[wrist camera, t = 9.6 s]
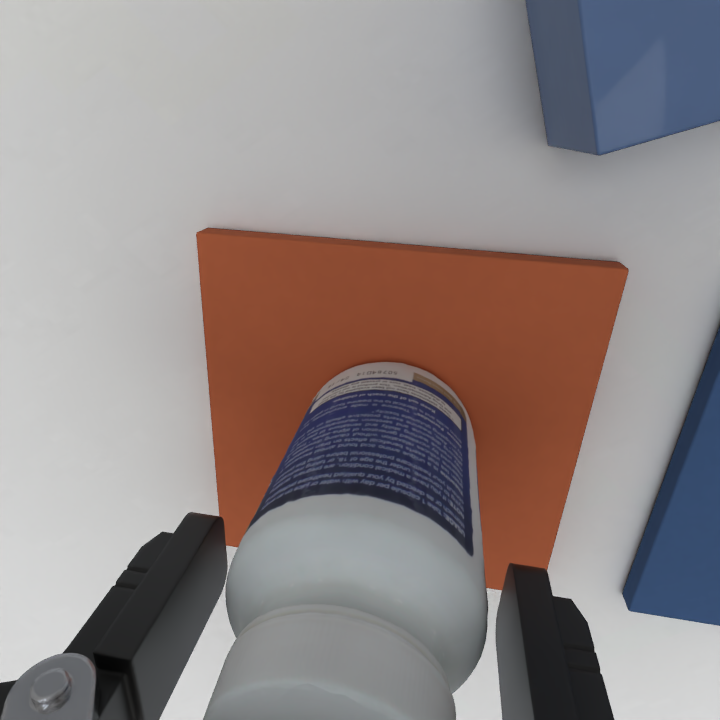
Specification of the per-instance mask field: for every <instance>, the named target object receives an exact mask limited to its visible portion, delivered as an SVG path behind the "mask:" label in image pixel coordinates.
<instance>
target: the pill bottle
mask: <svg viewBox="0 0 720 720" xmlns="http://www.w3.org/2000/svg"><path fill="white" fill-rule="evenodd" d="M226 607H227V612H228V617H229V621H230V624H231V626H232V629H233V631H234V634H235V636H236V638H237V639H236V640H235V642H234V644H233V646H232V647H231V649H230V651H229V653H228V655H227V657H226V660H225V662H224V665H223V668H222V670H221V673H220V676H219V678H218V681H217V684H216V686H215V689H214V692H213V694H212V697H211V699H210V702H209V705H208V708H207V710H206V713H205V716H204V719H203V720H456V712H455V703H454V699H453V696H452V693H454V692H455V691H456V690H457V689H458V688H459V687H460V686H461V685H462V684H463V683H464V682H465V681H466V680H467V679H468V677H469V676H470V675H471V673H472V672H473V670H474V669H475V667H476V665H477V663H478V661H479V659H480V657H481V654H482V651H483V648H484V645H485V640H486V633H487V614H488V601H487V591H486V581H485V569H484V556H483V543H482V527H481V518H480V504H479V490H478V476H477V463H476V444H475V440H474V434H473V429H472V425H471V421H470V419H469V416H468V413H467V411H466V409H465V407H464V406H463V404H462V402H461V401H460V399H459V398H458V396H457V395H456V394H455V392H454V391H453V390H452V389H451V388H450V387H449V386H448V385H447V384H445V383H444V382H442V381H441V380H440V379H438V378H437V377H436V376H434V375H433V374H431V373H429V372H427V371H425V370H422V369H420V368H417V367H414V366H410V365H407V364H404V363H395V362H376V363H367V364H363V365H358V366H355V367H352V368H350V369H347V370H345V371H343V372H341V373H340V374H338V375H337V376H335V377H334V378H332V379H331V380H330V381H328V382H327V383H326V384H325V385H324V386H323V387H322V388H321V390H320V391H319V392H318V393H317V395H316V396H315V397H314V399H313V401H312V403H311V405H310V406H309V408H308V410H307V412H306V414H305V416H304V418H303V420H302V422H301V424H300V426H299V428H298V430H297V432H296V434H295V436H294V438H293V440H292V442H291V443H290V445H289V447H288V449H287V451H286V454H285V456H284V458H283V459H282V461H281V463H280V465H279V467H278V469H277V471H276V473H275V475H274V476H273V478H272V479H271V482H270V485H269V487H268V489H267V491H266V493H265V495H264V497H263V499H262V501H261V503H260V505H259V507H258V509H257V511H256V513H255V515H254V517H253V519H252V520H251V522H250V524H249V526H248V527H247V529H246V532H245V534H244V536H243V538H242V540H241V542H240V544H239V546H238V549H237V551H236V553H235V555H234V558H233V560H232V563H231V566H230V569H229V572H228V576H227V583H226Z"/></svg>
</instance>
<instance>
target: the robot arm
mask: <svg viewBox="0 0 720 720" xmlns="http://www.w3.org/2000/svg"><path fill="white" fill-rule="evenodd" d="M226 575H227V553H226V540H225V527H224V520H223V518H222V517H219V516H212V515H206V514H200V513H193V512H190V513H188V514H187V515H186V516H185V517H184V519H183V520H182V522H181V523H180V525H179V526H178V528H177V529H176V531H175V532H174V533H167V532H161V533H160V534H159V535H157V536H156V537H154V538H153V539H152V540H150V541H149V542H148V543H146V544H145V545H144V546H142V547H141V549H140V550H139V551H138V553H137V554H136V555H135V557H134V558H133V559H132V561H131V562H130V563H129V565H128V568H127V570H124V572H123V573H122V574H121V576H120V577H119V578H118V580H117V581H116V585H115V586H113V587H112V588H111V589H110V591H109V592H108V593H107V595H106V596H105V597H104V599H103V600H102V601H101V603H100V604H99V606H98V607H97V608H96V610H95V611H94V612H93V614H92V615H91V616H90V618H89V619H88V620H87V622H86V623H85V625H84V626H83V627H82V629H81V630H80V631H79V633H78V634H77V635H76V637H75V638H74V639H73V641H72V642H71V644H70V645H69V646H68V647H67V649H66V650H65V651H64V652H63V653H62V654H58V655H55V656H52V657H49V658H47V659H45V660H42V661H41V662H39V663H37V664H36V665H34V666H33V667H31V668H30V669H29V670H27V671H26V672H25V673H24V674H23V675H22V676H21V677H20V678H19V679H18V680H15V681H10V682H3V683H0V720H159V719H160V717H161V715H162V712H163V710H164V708H165V706H166V704H167V702H168V700H169V698H170V696H171V694H172V692H173V690H174V688H175V686H176V684H177V682H178V680H179V678H180V676H181V674H182V672H183V670H184V668H185V666H186V664H187V662H188V660H189V658H190V656H191V654H192V652H193V650H194V648H195V645H196V643H197V641H198V639H199V637H200V635H201V633H202V631H203V629H204V627H205V625H206V623H207V621H208V619H209V617H210V615H211V613H212V611H213V609H214V607H215V605H216V603H217V601H218V599H219V597H220V595H221V592H222V590H223V587H224V584H225V580H226ZM496 650H497V662H498V673H499V684H500V696H501V707H502V719H503V720H614V717H613V713H612V710H611V706H610V702H609V699H608V695H607V692H606V688H605V684H604V681H603V677H602V674H600V666H599V663H598V659H597V655H596V653H595V652H594V644H593V641H592V637H591V633H590V630H589V626H588V623H587V621H586V620H585V618H584V617H583V615H582V614H581V613H580V611H579V610H578V608H577V607H576V605H575V604H574V603H573V601H572V600H571V599H568V598H561V597H555V596H553V595H552V590H551V586H550V581H549V577H548V573H547V571H546V569H545V568H539V567H533V566H527V565H520V564H514V563H509V565H508V568H507V572H506V576H505V581H504V585H503V589H502V594H501V598H500V602H499V607H498V611H497V618H496Z"/></svg>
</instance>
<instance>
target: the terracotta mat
mask: <svg viewBox="0 0 720 720" xmlns="http://www.w3.org/2000/svg"><path fill="white" fill-rule="evenodd" d="M196 237H197V249H198V261H199V273H200V285H201V297H202V310H203V322H204V334H205V346H206V358H207V370H208V383H209V395H210V407H211V419H212V431H213V443H214V455H215V468H216V480H217V492H218V504H219V516H220V517H222V518H223V520H224V527H225V540H226V545H227V546H233V547H238V546H239V544H240V542H241V540H242V538H243V536H244V534H245V532H246V529H247V527H248V526H249V524H250V522H251V520H252V519H253V517H254V515H255V513H256V511H257V509H258V507H259V505H260V503H261V501H262V499H263V497H264V495H265V493H266V491H267V489H268V487H269V485H270V482H271V479H272V478H273V476H274V475H275V473H276V471H277V469H278V467H279V465H280V463H281V461H282V459H283V458H284V456H285V454H286V451H287V449H288V447H289V445H290V443H291V442H292V440H293V438H294V436H295V434H296V432H297V430H298V428H299V426H300V424H301V422H302V420H303V418H304V416H305V414H306V412H307V410H308V408H309V406H310V405H311V403H312V401H313V399H314V397H315V396H316V395H317V393H318V392H319V391H320V390H321V388H322V387H323V386H324V385H325V384H326V383H327V382H328V381H330V380H331V379H332V378H334V377H335V376H337V375H338V374H340V373H341V372H343V371H345V370H347V369H350V368H352V367H355V366H358V365H363V364H367V363H376V362H395V363H404V364H407V365H410V366H414V367H417V368H420V369H422V370H425V371H427V372H429V373H431V374H433V375H434V376H436V377H437V378H438V379H440V380H441V381H442V382H444V383H445V384H447V385H448V386H449V387H450V388H451V389H452V390H453V391H454V392H455V394H456V395H457V396H458V398H459V399H460V401H461V402H462V404H463V406H464V407H465V409H466V411H467V413H468V416H469V419H470V421H471V425H472V429H473V434H474V440H475V444H476V463H477V476H478V490H479V504H480V518H481V527H482V543H483V556H484V569H485V581H486V588H491V589H497V590H502V589H503V585H504V581H505V576H506V572H507V568H508V565H509V563H514V564H520V565H527V566H533V567H539V568H545V569H546V571H547V568H548V564H549V561H550V557H551V553H552V550H553V546H554V542H555V539H556V535H557V531H558V528H559V524H560V520H561V517H562V513H563V509H564V506H565V502H566V498H567V495H568V491H569V487H570V484H571V480H572V476H573V473H574V469H575V465H576V462H577V458H578V454H579V451H580V447H581V443H582V440H583V436H584V432H585V429H586V425H587V421H588V418H589V414H590V410H591V407H592V403H593V399H594V396H595V392H596V388H597V385H598V381H599V377H600V374H601V370H602V366H603V363H604V359H605V355H606V352H607V348H608V344H609V341H610V337H611V333H612V330H613V326H614V322H615V319H616V315H617V311H618V308H619V304H620V301H621V297H622V293H623V290H624V286H625V282H626V279H627V275H628V271H629V270H628V268H626V267H625V266H624V265H623V264H621V263H620V262H611V261H599V260H587V259H575V258H563V257H551V256H539V255H527V254H515V253H503V252H491V251H479V250H467V249H455V248H444V247H432V246H420V245H408V244H396V243H384V242H372V241H360V240H348V239H336V238H324V237H312V236H300V235H288V234H276V233H264V232H252V231H240V230H228V229H216V228H206V229H204V230H202V231H199V232H197V234H196Z"/></svg>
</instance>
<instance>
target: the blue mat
mask: <svg viewBox="0 0 720 720" xmlns="http://www.w3.org/2000/svg"><path fill="white" fill-rule="evenodd" d="M622 594H623V597H624V599H625V602H626V605H627V608H628V610H629V611H633V612H639V613H645V614H651V615H657V616H663V617H669V618H676V619H682V620H688V621H694V622H700V623H706V624H712V625H719V626H720V327H719V330H718V332H717V335H716V338H715V341H714V343H713V346H712V349H711V352H710V354H709V357H708V360H707V363H706V365H705V368H704V371H703V374H702V376H701V379H700V382H699V384H698V387H697V390H696V393H695V395H694V398H693V401H692V404H691V406H690V409H689V412H688V415H687V417H686V420H685V423H684V426H683V428H682V431H681V434H680V437H679V439H678V442H677V445H676V447H675V450H674V453H673V456H672V458H671V461H670V464H669V467H668V469H667V472H666V475H665V478H664V480H663V483H662V486H661V489H660V491H659V494H658V497H657V500H656V502H655V505H654V508H653V510H652V513H651V516H650V519H649V521H648V524H647V527H646V530H645V532H644V535H643V538H642V541H641V543H640V546H639V549H638V552H637V554H636V557H635V560H634V563H633V565H632V568H631V571H630V573H629V576H628V579H627V582H626V584H625V587H624V590H623V593H622Z"/></svg>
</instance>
